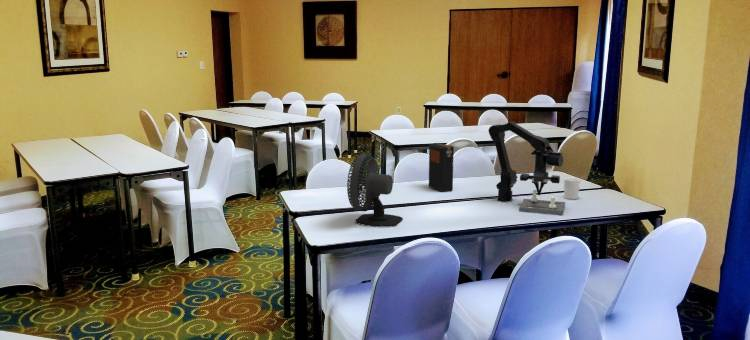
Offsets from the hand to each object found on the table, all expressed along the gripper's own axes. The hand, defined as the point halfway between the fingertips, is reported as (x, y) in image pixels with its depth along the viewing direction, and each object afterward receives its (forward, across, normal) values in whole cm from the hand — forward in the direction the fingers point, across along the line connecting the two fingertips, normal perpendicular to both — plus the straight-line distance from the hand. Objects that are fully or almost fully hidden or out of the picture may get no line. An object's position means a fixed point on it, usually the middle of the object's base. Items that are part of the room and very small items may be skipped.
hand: (539, 195), depth 298 cm
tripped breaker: (+3, -2, 0) cm, 4 cm away
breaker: (+3, +7, -10) cm, 13 cm away
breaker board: (+5, +2, -5) cm, 8 cm away
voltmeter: (+6, -55, +18) cm, 58 cm away
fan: (+6, -69, -53) cm, 87 cm away
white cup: (+6, +14, +22) cm, 27 cm away
